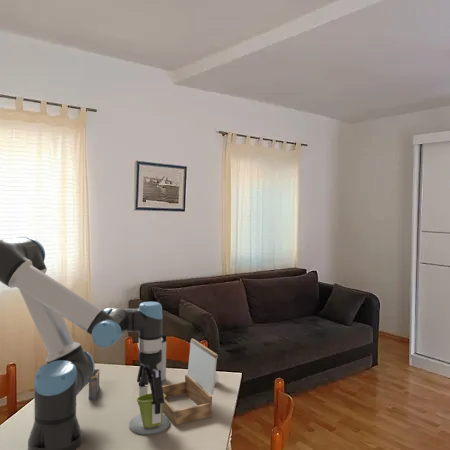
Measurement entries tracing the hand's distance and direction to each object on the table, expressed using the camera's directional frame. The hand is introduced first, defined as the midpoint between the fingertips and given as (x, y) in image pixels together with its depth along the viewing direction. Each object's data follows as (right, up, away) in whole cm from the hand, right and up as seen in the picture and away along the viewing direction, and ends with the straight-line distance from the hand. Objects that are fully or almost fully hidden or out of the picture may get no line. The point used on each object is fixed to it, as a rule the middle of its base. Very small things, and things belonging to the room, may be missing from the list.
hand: (149, 413), depth 144 cm
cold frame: (+9, -3, +13) cm, 16 cm away
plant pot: (+1, -2, -3) cm, 4 cm away
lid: (+16, +11, +16) cm, 25 cm away
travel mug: (-3, -2, +37) cm, 37 cm away
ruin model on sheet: (-25, -3, +24) cm, 35 cm away
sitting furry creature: (+18, -3, +36) cm, 40 cm away
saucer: (0, -4, 0) cm, 4 cm away
